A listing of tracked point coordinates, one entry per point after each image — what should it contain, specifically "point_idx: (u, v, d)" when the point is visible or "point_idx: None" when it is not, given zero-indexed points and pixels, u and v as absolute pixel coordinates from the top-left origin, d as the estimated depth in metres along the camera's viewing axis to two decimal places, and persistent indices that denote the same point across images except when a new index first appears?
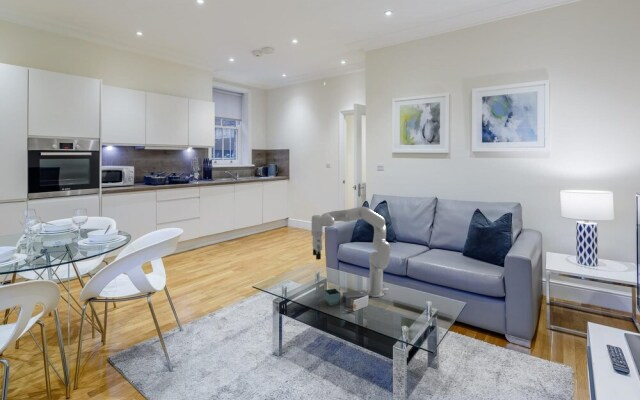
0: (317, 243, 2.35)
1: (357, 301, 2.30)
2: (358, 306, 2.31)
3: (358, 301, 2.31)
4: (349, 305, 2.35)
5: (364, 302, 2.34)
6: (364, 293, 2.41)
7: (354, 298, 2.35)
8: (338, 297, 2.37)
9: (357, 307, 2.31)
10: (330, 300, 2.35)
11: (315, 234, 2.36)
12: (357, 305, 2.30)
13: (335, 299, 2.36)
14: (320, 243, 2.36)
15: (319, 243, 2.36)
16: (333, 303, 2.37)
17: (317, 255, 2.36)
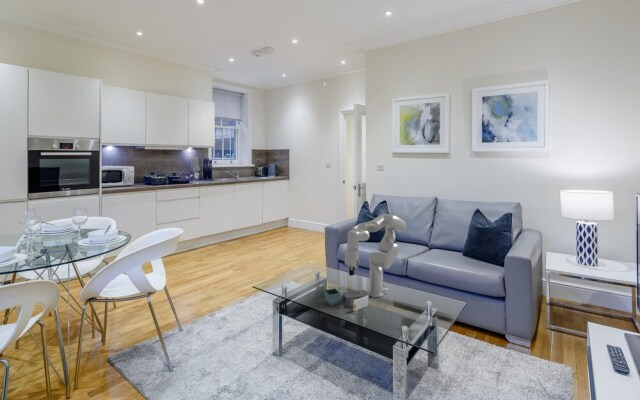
0: None
1: (357, 301, 2.30)
2: (358, 306, 2.31)
3: (358, 301, 2.31)
4: (349, 305, 2.35)
5: (364, 302, 2.34)
6: (364, 293, 2.41)
7: (354, 298, 2.35)
8: (338, 297, 2.37)
9: (357, 307, 2.31)
10: (330, 300, 2.35)
11: None
12: (357, 305, 2.30)
13: (335, 299, 2.36)
14: None
15: None
16: (333, 303, 2.37)
17: None
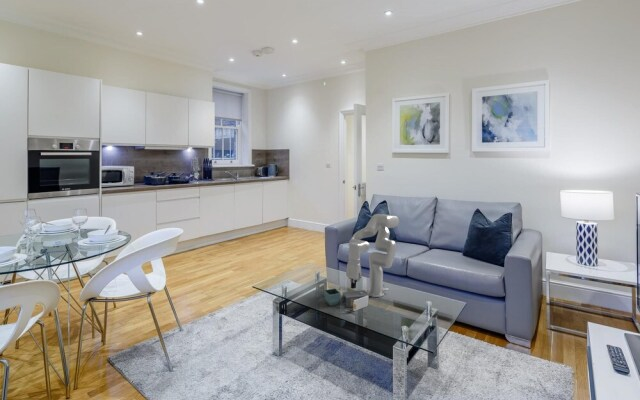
0: None
1: (357, 301, 2.30)
2: (358, 306, 2.31)
3: (358, 301, 2.31)
4: (349, 305, 2.35)
5: (364, 302, 2.34)
6: (364, 293, 2.41)
7: (354, 298, 2.35)
8: (338, 297, 2.37)
9: (357, 307, 2.31)
10: (330, 300, 2.35)
11: None
12: (357, 305, 2.30)
13: (335, 299, 2.36)
14: None
15: None
16: (333, 303, 2.37)
17: None
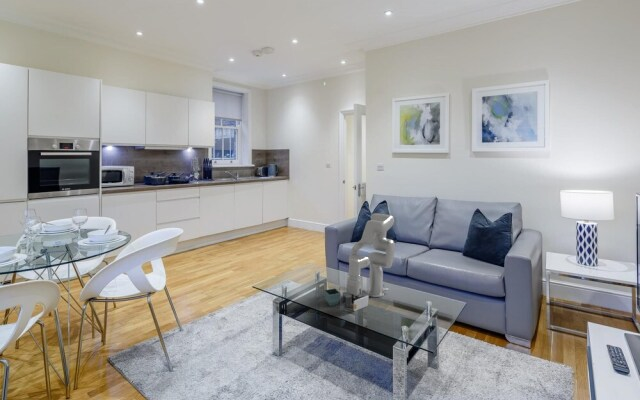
0: None
1: (357, 301, 2.30)
2: (358, 306, 2.31)
3: (358, 301, 2.30)
4: (349, 305, 2.35)
5: (364, 302, 2.34)
6: (364, 293, 2.41)
7: None
8: (338, 297, 2.37)
9: (357, 307, 2.30)
10: (330, 300, 2.35)
11: None
12: (357, 305, 2.30)
13: (335, 299, 2.36)
14: None
15: None
16: (333, 303, 2.37)
17: None
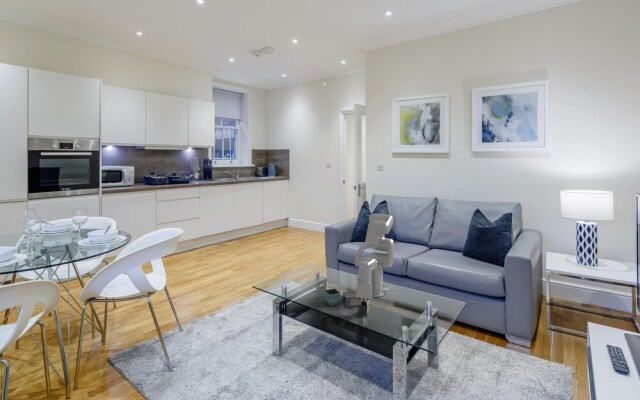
0: None
1: (368, 304, 2.26)
2: None
3: (368, 303, 2.27)
4: (349, 305, 2.35)
5: None
6: None
7: (354, 298, 2.35)
8: (338, 297, 2.37)
9: None
10: (330, 300, 2.35)
11: None
12: None
13: (335, 299, 2.36)
14: (356, 288, 2.25)
15: None
16: (333, 303, 2.37)
17: None
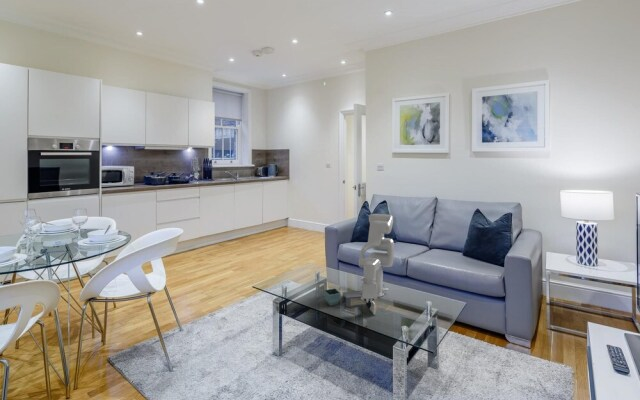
0: None
1: None
2: None
3: None
4: (349, 305, 2.35)
5: None
6: None
7: (354, 298, 2.35)
8: (338, 297, 2.37)
9: None
10: (330, 300, 2.35)
11: None
12: None
13: (335, 299, 2.36)
14: (362, 290, 2.23)
15: (361, 289, 2.23)
16: (333, 303, 2.37)
17: None
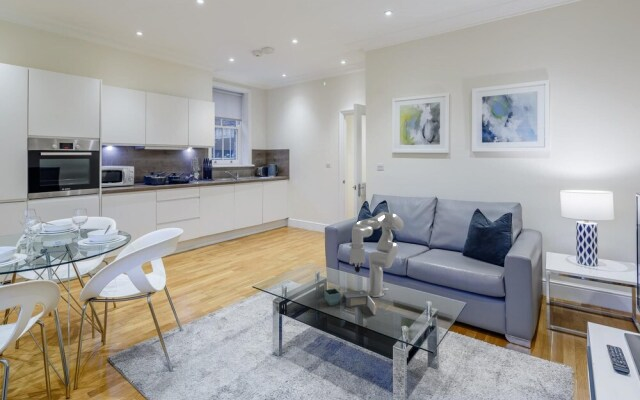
0: None
1: None
2: None
3: None
4: (349, 305, 2.35)
5: None
6: (364, 293, 2.41)
7: (354, 298, 2.35)
8: (338, 297, 2.37)
9: None
10: (330, 300, 2.35)
11: None
12: None
13: (335, 299, 2.36)
14: (350, 255, 2.31)
15: (350, 255, 2.32)
16: (333, 303, 2.37)
17: None
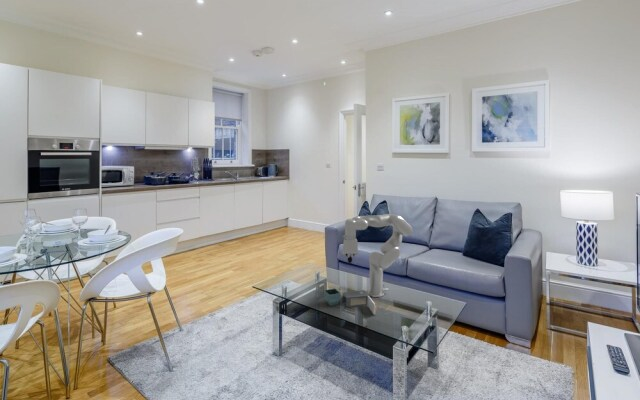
0: None
1: None
2: None
3: None
4: (349, 305, 2.35)
5: None
6: (364, 293, 2.41)
7: (354, 298, 2.35)
8: (338, 297, 2.37)
9: None
10: (330, 300, 2.35)
11: None
12: None
13: (335, 299, 2.36)
14: (343, 246, 2.41)
15: (343, 245, 2.41)
16: (333, 303, 2.37)
17: None
